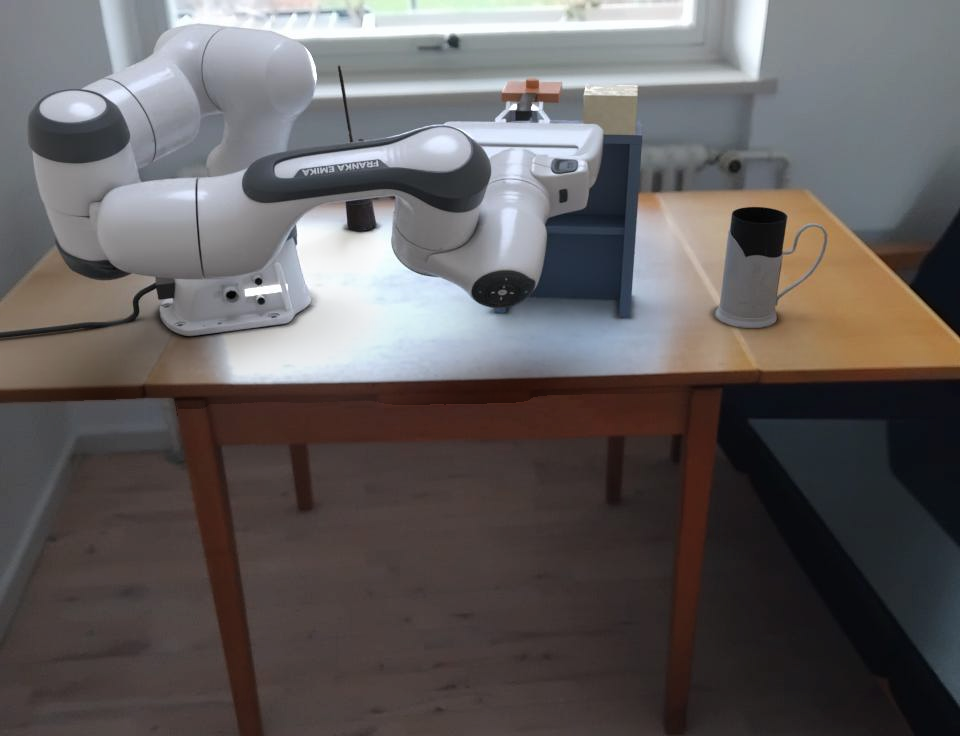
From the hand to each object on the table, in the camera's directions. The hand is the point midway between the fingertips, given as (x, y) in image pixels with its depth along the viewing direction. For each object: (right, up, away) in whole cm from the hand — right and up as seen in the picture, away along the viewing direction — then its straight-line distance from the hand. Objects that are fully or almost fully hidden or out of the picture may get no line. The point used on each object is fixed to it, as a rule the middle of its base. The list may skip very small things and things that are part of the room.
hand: (525, 105), depth 129 cm
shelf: (+7, -21, +25) cm, 33 cm away
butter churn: (-27, -1, +59) cm, 65 cm away
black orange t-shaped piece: (+1, +2, +5) cm, 5 cm away
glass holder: (+36, -23, +20) cm, 48 cm away
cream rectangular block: (+12, +1, +10) cm, 16 cm away
